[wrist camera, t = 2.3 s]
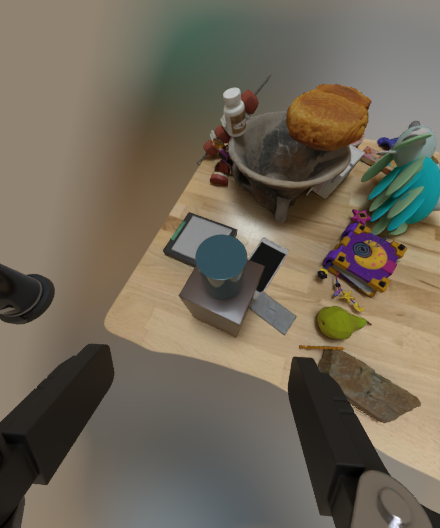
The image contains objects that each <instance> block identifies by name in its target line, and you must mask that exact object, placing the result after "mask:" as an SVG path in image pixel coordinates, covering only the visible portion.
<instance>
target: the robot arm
mask: <svg viewBox="0 0 440 528" xmlns="http://www.w3.org/2000/svg"><path fill="white" fill-rule="evenodd" d="M43 291H44V289H43V285H42V283H41V282H40V281H39V280H37V279H35V278H32V277H29V276H27V275H25V274H22V273H20V272H18V271H16V270H13V269H11V268H9V267H7V266H4V265H2V264H0V314H2V315H5V316H9V317H19V316H22V315H24V314H26V313H28V312H30V311H31V310H32V309H34V308H35V307H36V306H37V304H38V303H39V302H40V300H41V298H42V296H43ZM113 378H114V368H113V362H112V357H111V352H110V348H109V346H108V345H104V344H88V345H86V346H85V347H84V348H83V349H82V350H81V351H80V352H79V353H78V354H77V355H76V356H72V357H71V358H69V359H68V360H66V361H64V362H63V363H61V364H60V365H59V366H58V367H57V368H56V369H54V371H53V372H52V373H50V374H49V375H48V377H47V379H44V380H43V381H42V382H41V383H40V384H39V385H38V386H37V388H36V389H34V390H33V391H32V392H31V393H30V394H29V395H28V396H27V397H26V398H25V399H24V400H23V401H22V402H21V403H20V404H19V405H18V406H17V407H15V408H14V410H13V411H11V412H10V413H9V414H8V415H7V416H6V417H5V418H4V419H3V420H2V421H1V422H0V528H21V523H22V517H23V511H24V505H25V497H24V495H25V494H26V492H27V491H28V489H29V488H30V486H31V485H32V484H41V485H47V484H48V483H49V481H50V480H51V478H52V477H53V475H54V474H55V472H56V471H57V469H58V467H59V466H60V464H61V463H62V461H63V459H64V458H65V457H66V455H67V453H68V452H69V450H70V449H71V447H72V446H73V444H74V443H75V441H76V439H77V438H78V436H79V435H80V433H81V432H82V430H83V428H84V427H85V425H86V424H87V422H88V420H89V419H90V418H91V416H92V415H93V413H94V411H95V410H96V408H97V407H98V405H99V404H100V402H101V401H102V399H103V397H104V395H105V394H106V393H107V391H108V390H109V388H110V386H111V384H112V382H113ZM288 395H289V401H290V404H291V409H292V412H293V416H294V420H295V423H296V427H297V431H298V435H299V438H300V442H301V446H302V450H303V453H304V457H305V461H306V464H307V468H308V472H309V476H310V480H311V483H312V487H313V491H314V495H315V498H316V502H317V506H318V510H319V513H320V515H324V516H332V517H333V520H334V524H335V527H336V528H440V514H438V513H436V512H434V511H432V510H430V509H428V508H426V507H425V506H423V505H421V504H420V503H419V502H418V501H417V499H416V498H415V497H414V496H413V494H412V493H411V492H410V491H409V490H408V489H407V488H406V487H404V486H403V485H402V484H401V483H400V482H398V481H397V480H396V479H394V478H393V477H391V475H390V474H389V473H388V471H387V469H386V468H385V466H384V464H383V463H382V461H381V459H380V457H379V456H378V454H377V452H376V450H375V448H374V446H373V445H372V443H371V441H370V439H369V437H368V436H367V434H366V432H365V430H364V428H363V426H362V425H361V423H360V421H359V419H358V417H357V416H356V414H354V410H353V408H352V407H351V405H350V403H349V402H348V401H347V398H346V396H345V394H344V392H343V390H342V388H341V387H340V385H339V384H338V383H337V382H336V381H335V380H334V379H333V378H332V377H331V376H330V375H329V374H328V373H322V372H320V371H319V369H318V367H317V365H316V363H315V361H314V359H313V358H305V357H293V359H292V363H291V369H290V376H289V382H288Z"/></svg>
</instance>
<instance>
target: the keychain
mask: <svg viewBox="0 0 440 528" xmlns="http://www.w3.org/2000/svg"><path fill="white" fill-rule="evenodd" d="M299 347H300V349H302V348H303V347H305V348H307V349H308V350H310V348H311V349H312V348H313V347H314V349H317V348H319V349H334V350H336V349H337V350H339V349H341V350H343V349H344V348H343V347H325V346H321V348H320V346H318V347H317V346H316V347H315V346H307V347H306V346H302V345H300V346H299ZM301 347H302V348H301ZM338 348H339V349H338ZM342 348H343V349H342Z"/></svg>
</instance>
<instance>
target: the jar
mask: <svg viewBox="0 0 440 528" xmlns="http://www.w3.org/2000/svg"><path fill="white" fill-rule="evenodd" d="M195 260H196V265H197V268H198V271H199V274H200V277H201V280H202V284H203V287H204V289H205V291H206V292H207V294H209V295H210V296H211V297H213V298H215V299H218V300H227V299H230V298H233V297H234V296H236V295H237V294H238V293H239V292H240V290H241V288H242V285H243V279H244V274H245V268H246V262H247V252H246V249H245V247H244V245H243V244H242V243H241V242H240V241H239V240H238V239H236V238H235V237H232V236H229V235H223V234H220V235H214V236H211V237H209V238H207V239H205V240H204V241H203V242H202V243H201V244H200V245H199V247H198V249H197V251H196V255H195Z"/></svg>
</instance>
